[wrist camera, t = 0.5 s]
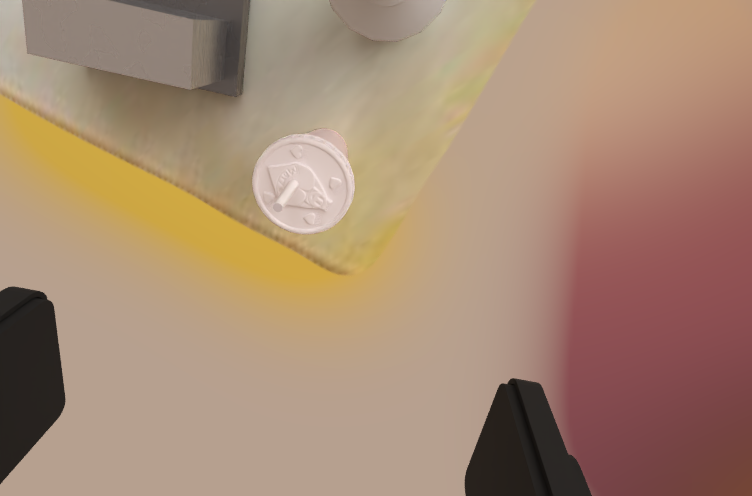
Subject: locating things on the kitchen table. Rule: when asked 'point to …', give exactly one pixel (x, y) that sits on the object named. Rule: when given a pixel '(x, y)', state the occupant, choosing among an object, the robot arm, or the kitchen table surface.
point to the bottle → (387, 17)
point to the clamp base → (146, 39)
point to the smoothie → (304, 181)
